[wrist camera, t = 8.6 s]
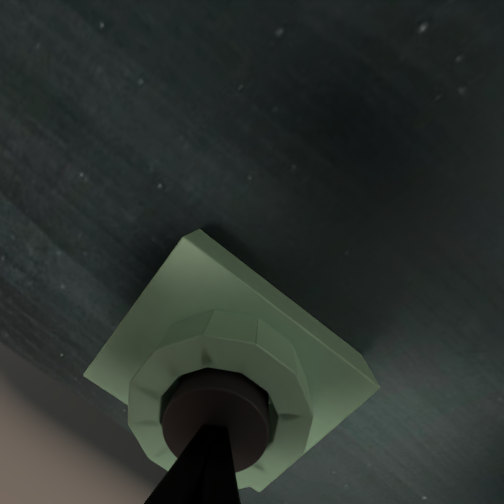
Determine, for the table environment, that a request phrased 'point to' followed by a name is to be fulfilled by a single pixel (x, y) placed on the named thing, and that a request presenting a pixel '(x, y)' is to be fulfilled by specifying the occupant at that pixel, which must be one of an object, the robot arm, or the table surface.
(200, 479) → the robot arm
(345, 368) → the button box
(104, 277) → the table surface
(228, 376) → the push button
